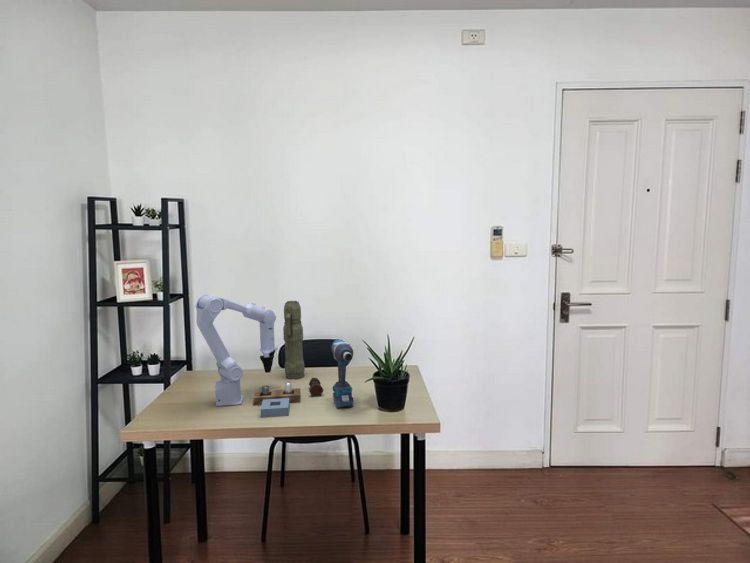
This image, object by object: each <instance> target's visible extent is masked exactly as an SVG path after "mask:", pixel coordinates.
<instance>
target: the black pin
mask: <svg viewBox="0 0 750 563" xmlns="http://www.w3.org/2000/svg"><path fill="white" fill-rule="evenodd" d="M269 390H270V386H269V385H266V384H265V385H262V386H261V391H262V396H268V395H269Z"/></svg>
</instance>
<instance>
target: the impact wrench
mask: <svg viewBox="0 0 750 563" xmlns="http://www.w3.org/2000/svg"><path fill="white" fill-rule="evenodd" d="M331 354H332V357H333V359H334V361H336V362H337V372H338V373H337V376H338V381H336V382H335V383H334V384H333V386H332V391H333V392H332V397H333V403H334V404H335V406H336V408H337V409H343V408H353V406H354V397H353V387H352V385H351V384H350V383H349V382H348V381H346V376H347V374H346V373H347V364H349V363H351V361H352V360H353V357H354V349H353V348H352V346H351V344H350V342H349V341H345V340H343V339H339V338H338V339H335V340H334V341H333V342H332V344H331Z"/></svg>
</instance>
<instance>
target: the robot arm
mask: <svg viewBox="0 0 750 563" xmlns="http://www.w3.org/2000/svg"><path fill="white" fill-rule="evenodd" d="M194 307H195V309H196V326H197V327H198V329H199V332H200V333H201V335H202V336H203V339H204V340H205V342H206V344H207V345H208V346H207V347H209V349H210V351H211V353H212V355H213V356H214V358H215V360H216V363H215V365H216V367H217V374H218V375H219V376H220V380H216V382H215V386H214V387H215V403H216V404H215V406H216V407H220V406H222V407H223V406H234V405H235V406H236V405H237V406H238V405H241V404H242V402H243V400H244V396H242V391H241V388H242V386H241V379H242V377H243V376H244V373H243V372H244V371H243V369H242V367H241V366H240V365H238V364H237V362H236V361H235V360H234V359H233V358H232V357H231V355H230V353H229V351H228V350H227V348H226V346H225V344H224V342H223V341H222V338H221V336H220V335H219V332H218V331H217V328H216V327H215V325H214V321H215V319H216V318H217V317H218V315H219V314H220V313H221V312H222V311H225V310H227V309H229V310H231V311H235V312H239V313H241V314H242V315H243V317H244V318H246V319H247V318H248V319H251V320H253V321H256V322H258V323H259V337H260V338H259V339H260V340H259V341H260V342H259V343H260V350H259V351H260V352H261V353H262V354H263V355H260V356H259V360H260V361H261V362H262V364H263V365H262V366H263V369H264V372H265V374H266V373H271V371H272V367H273V362H274V357H275V353H276V351H277V350H278V346H275V322H276V321H277V315H276V314H275V312H274V311H273V310H271V309H267V308H266V307H264V306H258V305H256V303H253V302H251V303H247V304H245V305H244V304H242V303H239V302H237V301H234V300H231V299H229V298H226V297H225V298H224V297H219V296H210V295H207V294H204V295H201V296H200V297H199V298H198V299H197V300H196V304H195V306H194Z"/></svg>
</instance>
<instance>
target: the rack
mask: <svg viewBox="0 0 750 563" xmlns="http://www.w3.org/2000/svg"><path fill="white" fill-rule="evenodd" d="M281 398H289V403H290V404H294V403H295V404H297V403H301V388H292V394H285V388H282V389H269V395H268V396H262V390H255V391H254V395H253V397H252V402H253V406H261V405H262V401H263V400H265V399H281Z"/></svg>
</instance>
